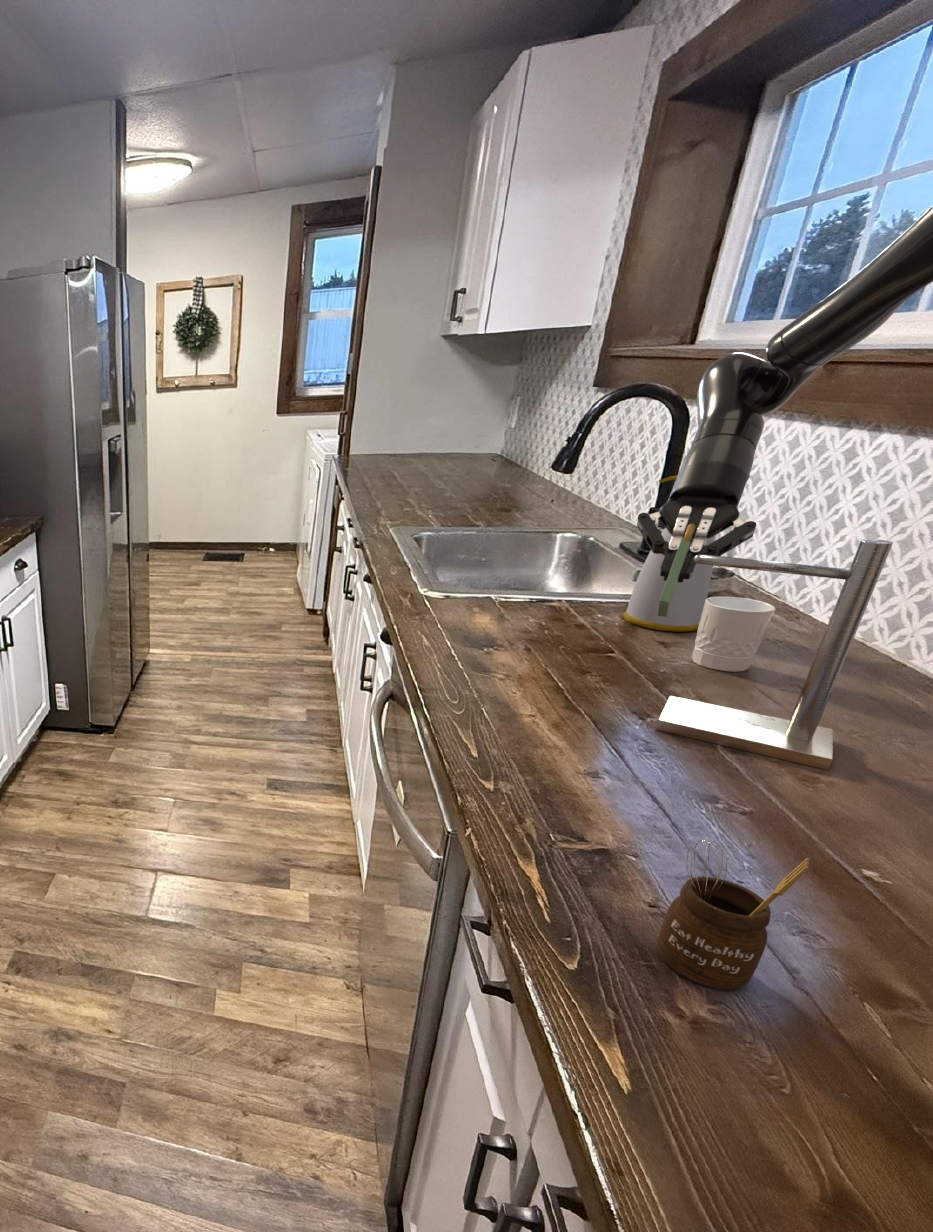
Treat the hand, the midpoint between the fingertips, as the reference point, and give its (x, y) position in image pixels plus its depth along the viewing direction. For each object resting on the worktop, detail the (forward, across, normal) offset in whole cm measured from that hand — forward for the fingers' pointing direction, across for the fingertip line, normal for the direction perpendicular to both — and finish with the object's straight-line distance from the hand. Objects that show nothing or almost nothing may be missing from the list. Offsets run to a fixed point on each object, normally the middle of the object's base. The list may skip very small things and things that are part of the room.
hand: (673, 578), depth 99 cm
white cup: (-2, +7, +26) cm, 28 cm away
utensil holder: (+55, +13, -30) cm, 64 cm away
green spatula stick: (+4, 0, +1) cm, 4 cm away
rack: (+18, +11, +7) cm, 22 cm away
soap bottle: (-14, -2, +39) cm, 42 cm away
